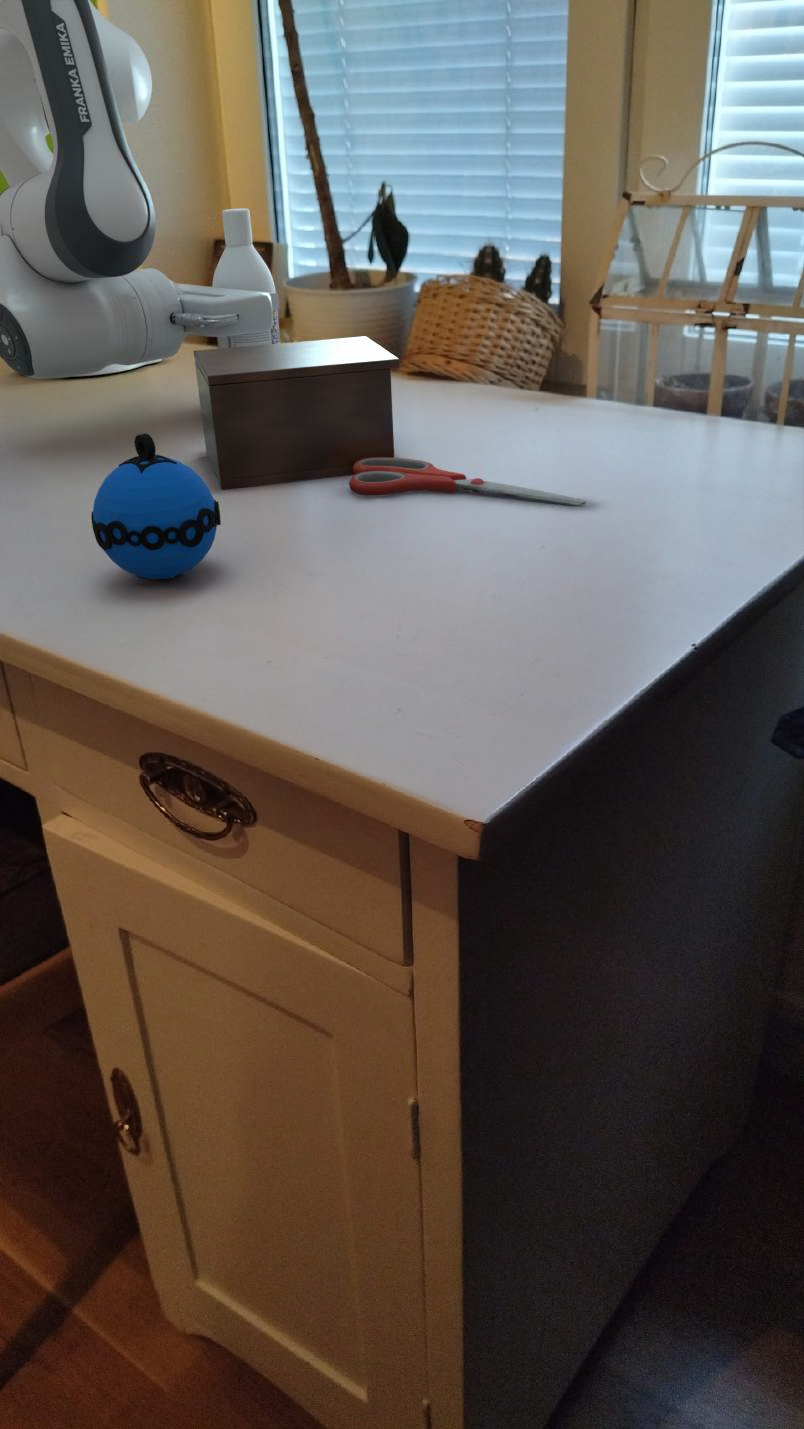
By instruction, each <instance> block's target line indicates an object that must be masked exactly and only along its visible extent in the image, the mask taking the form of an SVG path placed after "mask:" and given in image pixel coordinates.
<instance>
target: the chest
mask: <svg viewBox="0 0 804 1429" xmlns="http://www.w3.org/2000/svg"><path fill="white" fill-rule="evenodd" d="M194 365H195V373H196V374H195V375H196V381H197V390H198V396H199V407H200V413H201V421H202V430H203V436H204V438H203V439H204V444H205V453H206V454H205V455H206V456H207V458H208V461H209V463H210V466H211V468H212V471H213V473H214V475H215V478H216V480H217V482H218V485H219V487H220V489H221V491H223V490H231V489H240V488H248V487H256V486H257V487H258V486H267V485H275V484H282V483H283V484H284V483H292V482H293V483H294V482H300V481H311V480H320V479H327V478H328V479H329V478H336V477H344V476H354V475H355V474H354V472H353V466H354V464H355V463H356V462H357V461H359V460H361V459H365V458H372V457H393V458H395V439H394V438H395V437H394V417H393V393H392V372H391V370H392V369H384V370H374V371H363V372H352V373H341V374H330V375H319V376H308V377H297V378H286V379H275V380H264V381H253V382H242V383H231V384H220V385H208V383H207V381H206V379H205V377H204V375H203V374H202V372H201V370H200V368H199V366H198V364H197V362H196V361H195V360H194Z"/></svg>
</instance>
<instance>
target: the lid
mask: <svg viewBox="0 0 804 1429" xmlns="http://www.w3.org/2000/svg"><path fill="white" fill-rule="evenodd" d="M193 358H194V362H195V361H196V362H197V364H198V366H199V368H200V370H201V372H202V374H203V375H204V377H205V379H206V381H207V383H208V385H220V384H231V383H242V382H253V381H264V380H275V379H286V378H297V377H308V376H319V375H330V374H341V373H352V372H363V371H374V370H384V369H390V370H394V369H400V359H399V358H398V356H396V355H394V354H392V353H391V352H389V350H386V348H384V347H382V346H381V345H380V344H378V343H376V342H375V341H373V339H370V338H369V337H368V336H365V335H364V336H363V335H362V336H353V337H342V338H339V337H338V338H329V339H317V340H305V341H295V342H294V341H293V342H280V344H268V345H256V346H244V347H233V348H221V349H218V348H212V349H211V348H210V349H199V350H197V349H196V350H193Z"/></svg>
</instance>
